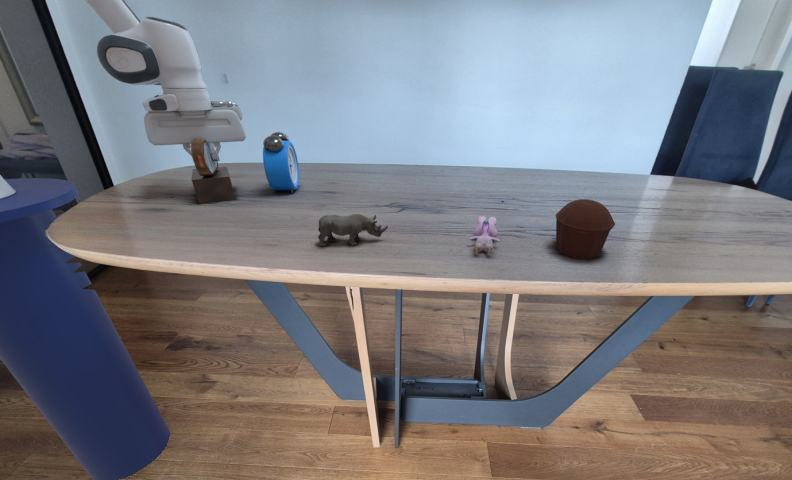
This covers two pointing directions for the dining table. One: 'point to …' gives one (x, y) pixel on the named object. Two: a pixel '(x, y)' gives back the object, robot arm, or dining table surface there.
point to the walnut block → (213, 186)
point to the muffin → (582, 228)
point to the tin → (203, 157)
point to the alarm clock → (280, 162)
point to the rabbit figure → (485, 234)
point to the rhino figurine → (347, 227)
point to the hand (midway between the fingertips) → (206, 161)
